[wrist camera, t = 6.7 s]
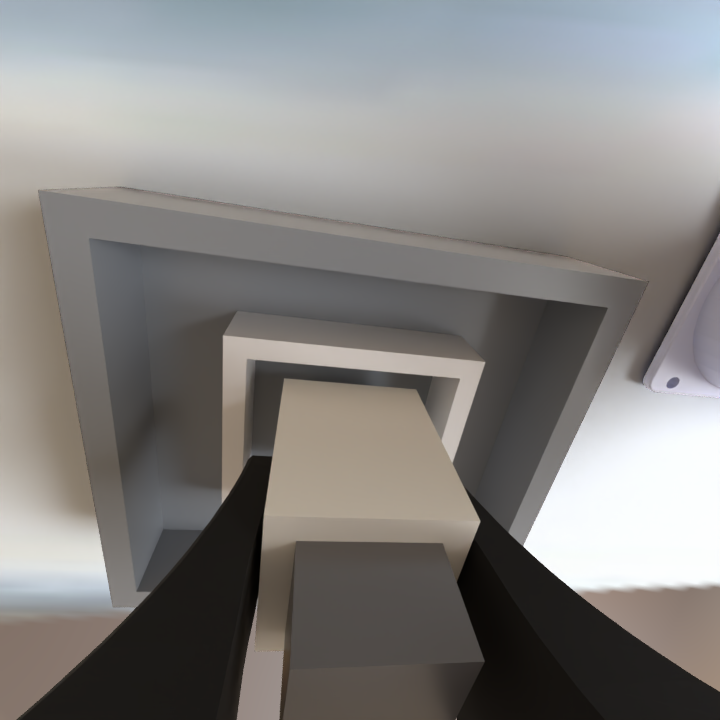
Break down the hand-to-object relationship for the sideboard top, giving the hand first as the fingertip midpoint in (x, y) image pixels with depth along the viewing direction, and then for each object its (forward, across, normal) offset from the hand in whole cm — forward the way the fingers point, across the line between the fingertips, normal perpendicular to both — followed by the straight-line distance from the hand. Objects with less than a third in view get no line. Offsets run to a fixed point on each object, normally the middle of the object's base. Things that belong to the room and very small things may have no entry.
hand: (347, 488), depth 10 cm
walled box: (+4, 0, 0) cm, 4 cm away
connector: (+2, 0, 0) cm, 2 cm away
